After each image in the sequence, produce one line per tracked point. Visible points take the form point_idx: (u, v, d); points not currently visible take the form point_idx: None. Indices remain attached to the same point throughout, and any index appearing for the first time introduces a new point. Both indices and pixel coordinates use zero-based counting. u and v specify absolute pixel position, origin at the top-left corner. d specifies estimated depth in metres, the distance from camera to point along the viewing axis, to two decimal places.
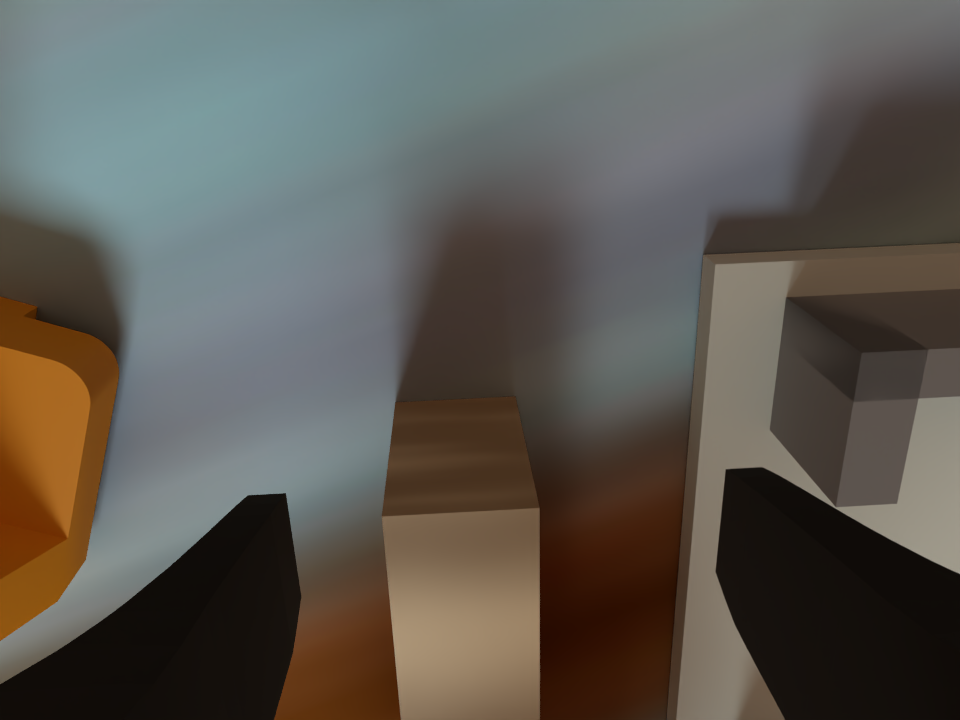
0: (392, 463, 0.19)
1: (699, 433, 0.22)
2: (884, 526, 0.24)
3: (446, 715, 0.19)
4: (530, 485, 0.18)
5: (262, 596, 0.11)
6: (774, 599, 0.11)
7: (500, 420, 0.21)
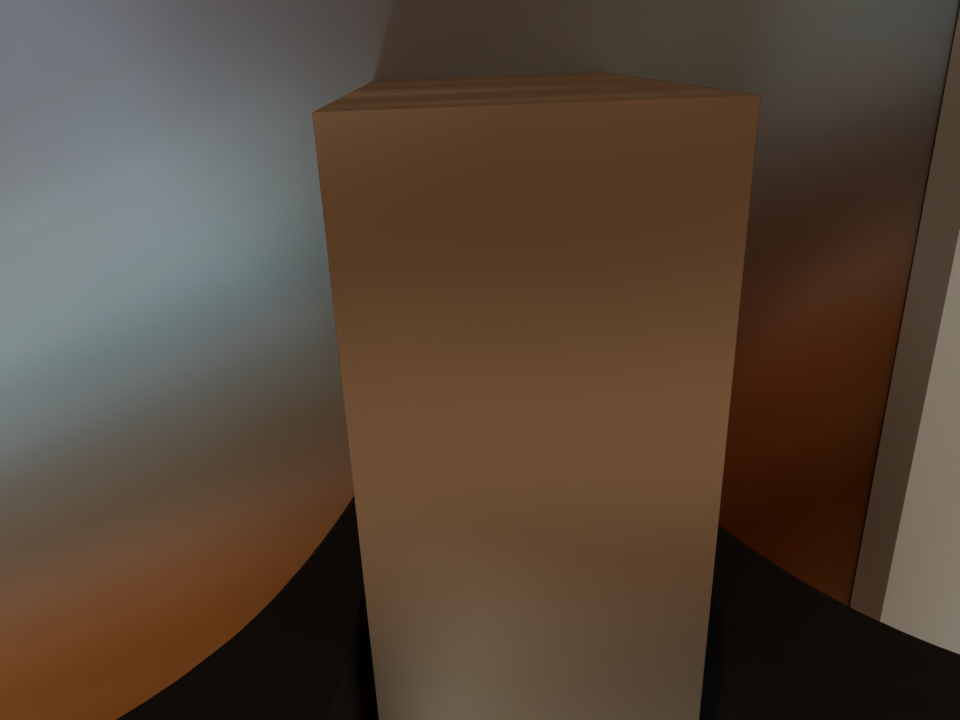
0: (355, 95, 0.08)
1: None
2: None
3: (483, 695, 0.08)
4: (708, 90, 0.07)
5: None
6: None
7: (589, 78, 0.10)
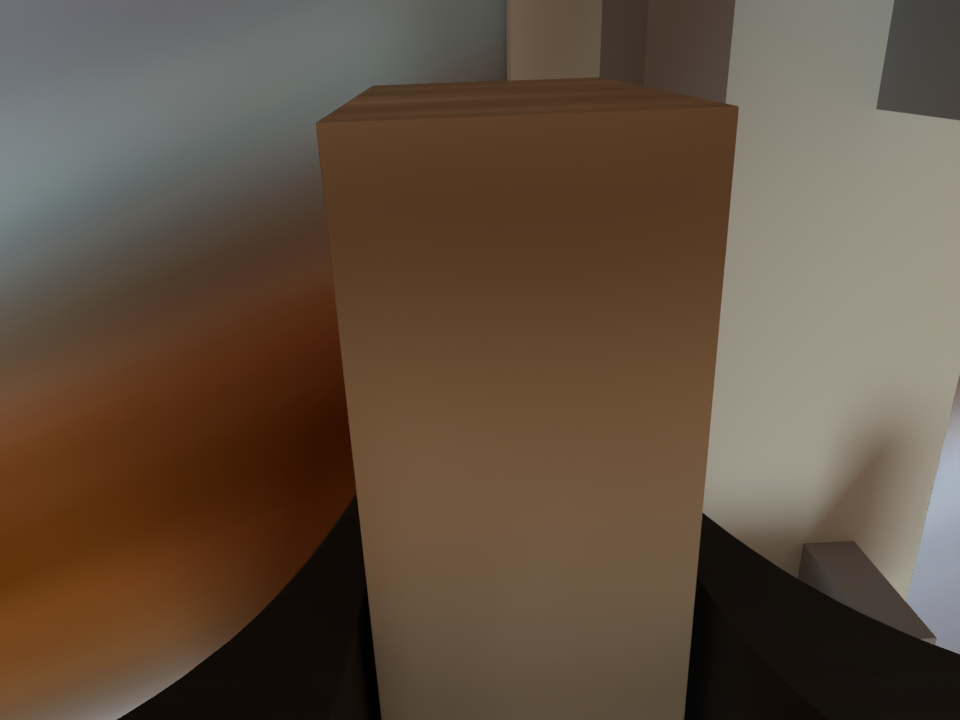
0: (356, 102, 0.08)
1: None
2: (751, 263, 0.19)
3: (480, 676, 0.09)
4: (691, 99, 0.07)
5: None
6: None
7: (581, 83, 0.10)
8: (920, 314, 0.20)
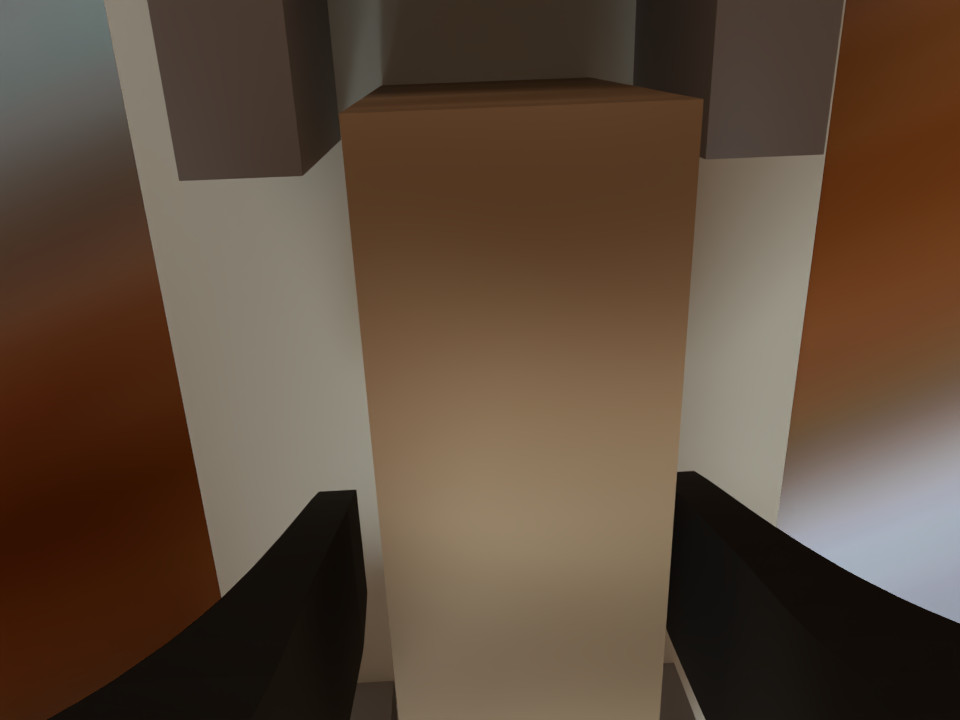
0: (370, 98, 0.09)
1: (137, 151, 0.13)
2: None
3: (480, 612, 0.10)
4: (666, 94, 0.08)
5: (342, 591, 0.11)
6: (697, 605, 0.11)
7: (573, 82, 0.11)
8: (725, 390, 0.15)
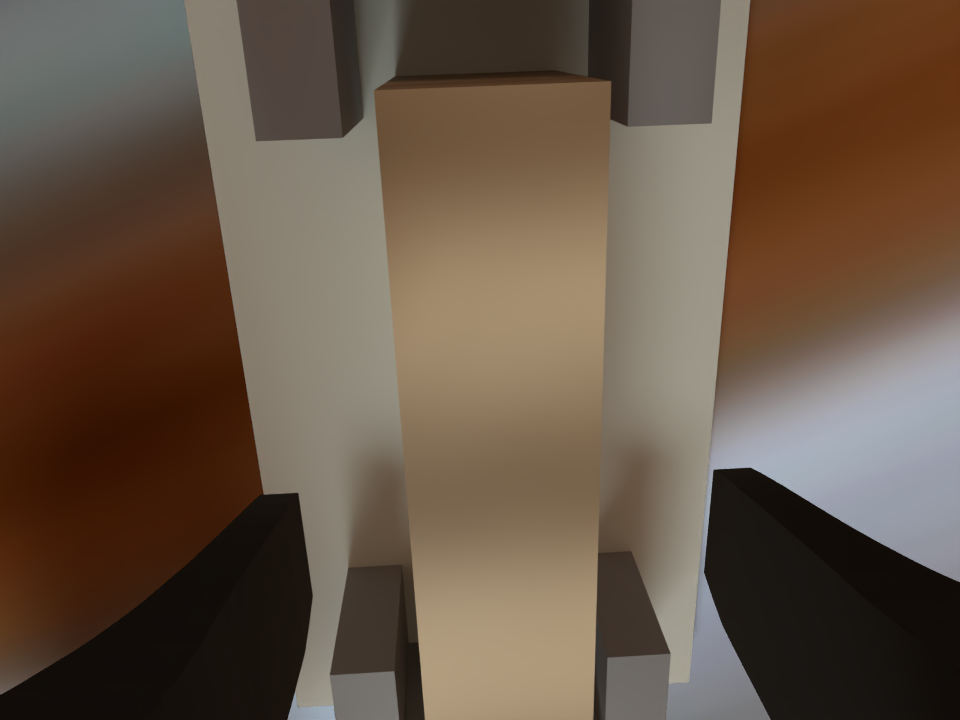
0: (390, 83, 0.13)
1: (206, 127, 0.17)
2: None
3: (467, 447, 0.14)
4: (592, 79, 0.12)
5: (276, 595, 0.11)
6: (760, 600, 0.11)
7: (538, 73, 0.15)
8: (666, 320, 0.19)
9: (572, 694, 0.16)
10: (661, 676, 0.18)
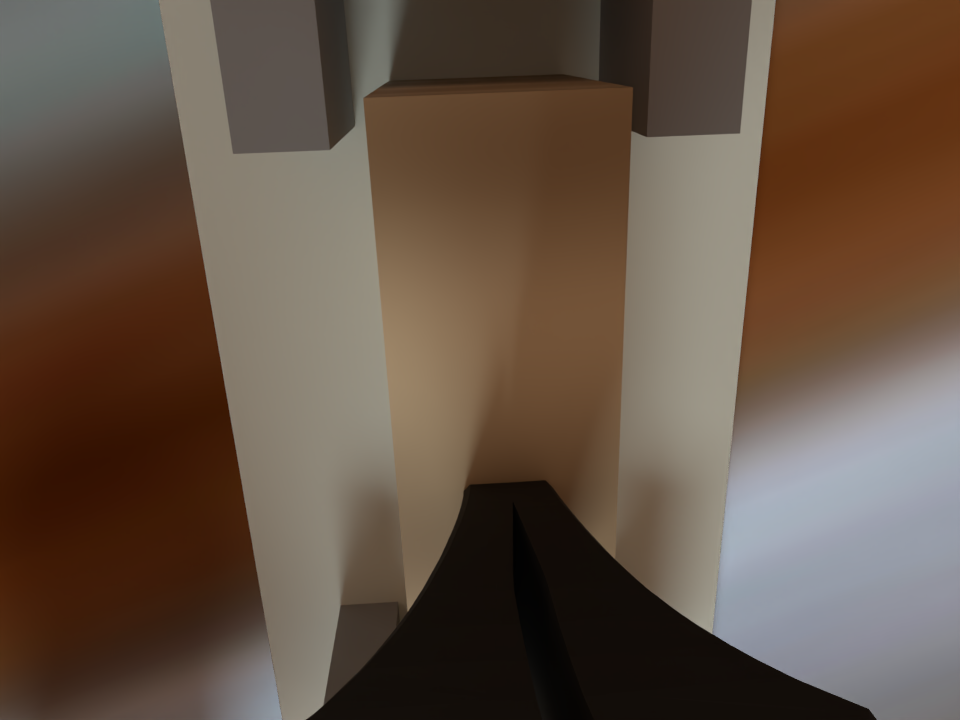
0: (382, 89, 0.12)
1: None
2: None
3: None
4: (610, 84, 0.11)
5: None
6: (527, 615, 0.11)
7: (546, 77, 0.14)
8: (682, 342, 0.18)
9: None
10: None
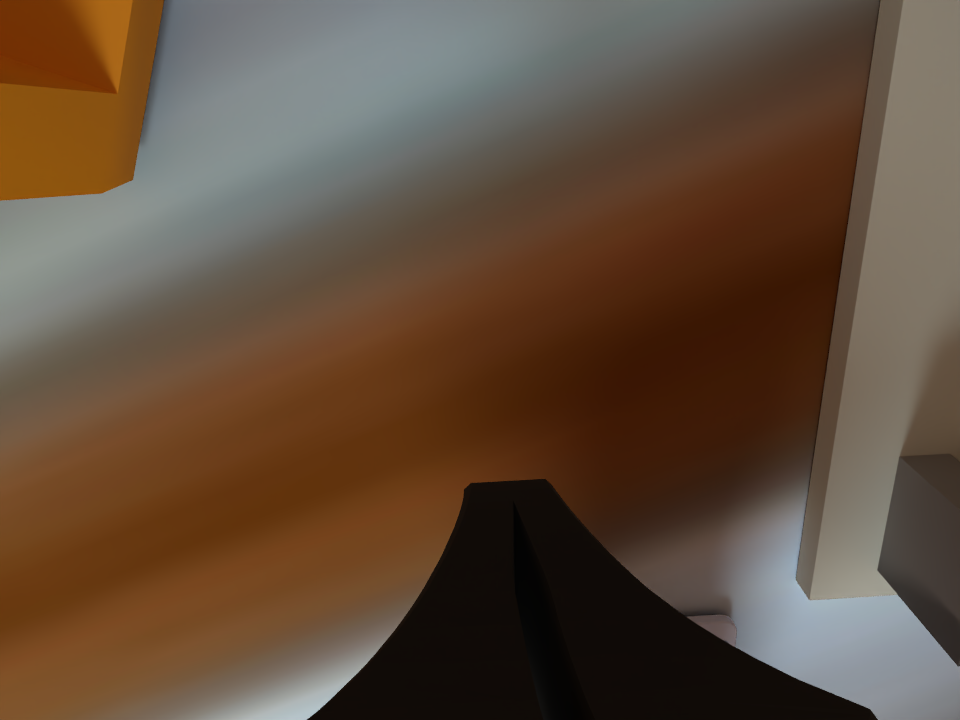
0: None
1: (899, 6, 0.18)
2: None
3: None
4: None
5: (514, 581, 0.11)
6: (527, 615, 0.11)
7: None
8: None
9: None
10: None
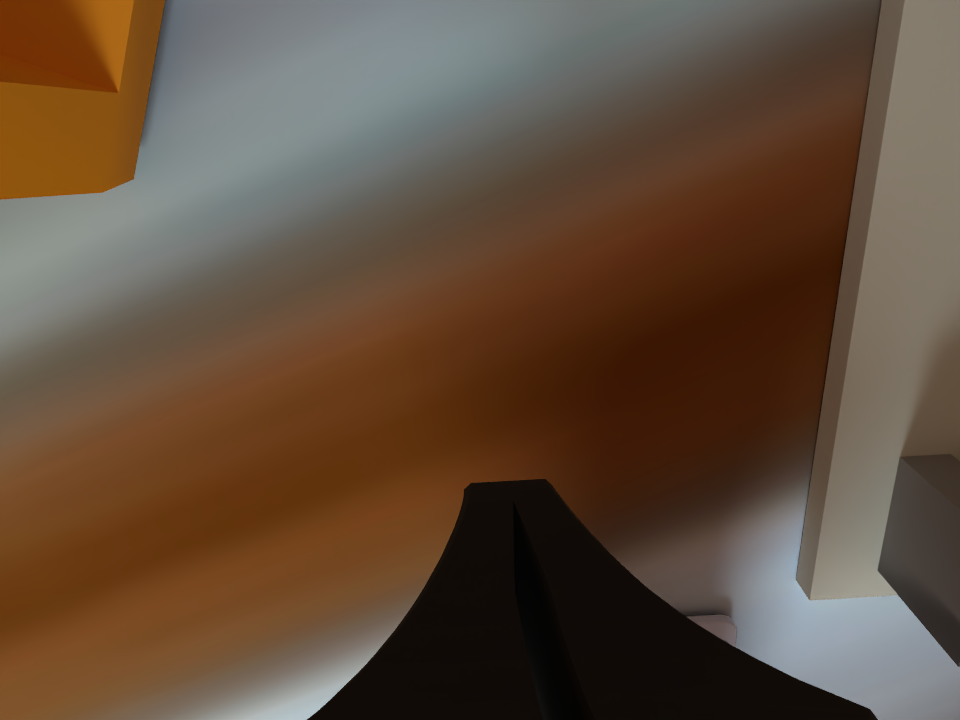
0: None
1: (900, 6, 0.18)
2: None
3: None
4: None
5: (514, 581, 0.11)
6: (527, 615, 0.11)
7: None
8: None
9: None
10: None
